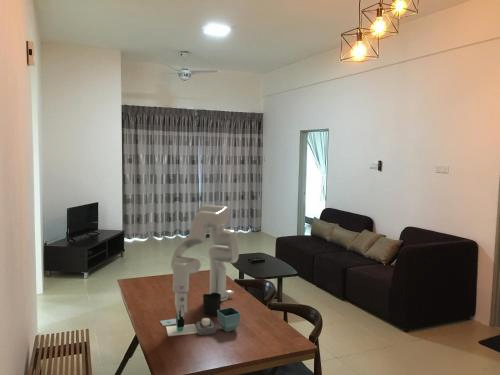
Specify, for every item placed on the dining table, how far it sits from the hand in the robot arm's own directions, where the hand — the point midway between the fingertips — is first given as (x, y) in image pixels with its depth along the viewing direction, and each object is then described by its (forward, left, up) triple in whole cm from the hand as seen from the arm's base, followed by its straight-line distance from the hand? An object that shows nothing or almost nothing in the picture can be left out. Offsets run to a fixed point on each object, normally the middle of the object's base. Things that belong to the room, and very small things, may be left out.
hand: (180, 324), depth 195 cm
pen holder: (-19, -18, -3) cm, 26 cm away
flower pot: (-23, +3, -3) cm, 23 cm away
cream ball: (-12, +2, -1) cm, 12 cm away
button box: (-12, +2, -3) cm, 13 cm away
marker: (0, 0, -2) cm, 2 cm away
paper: (-1, -1, -3) cm, 4 cm away
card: (+4, -11, -3) cm, 12 cm away
